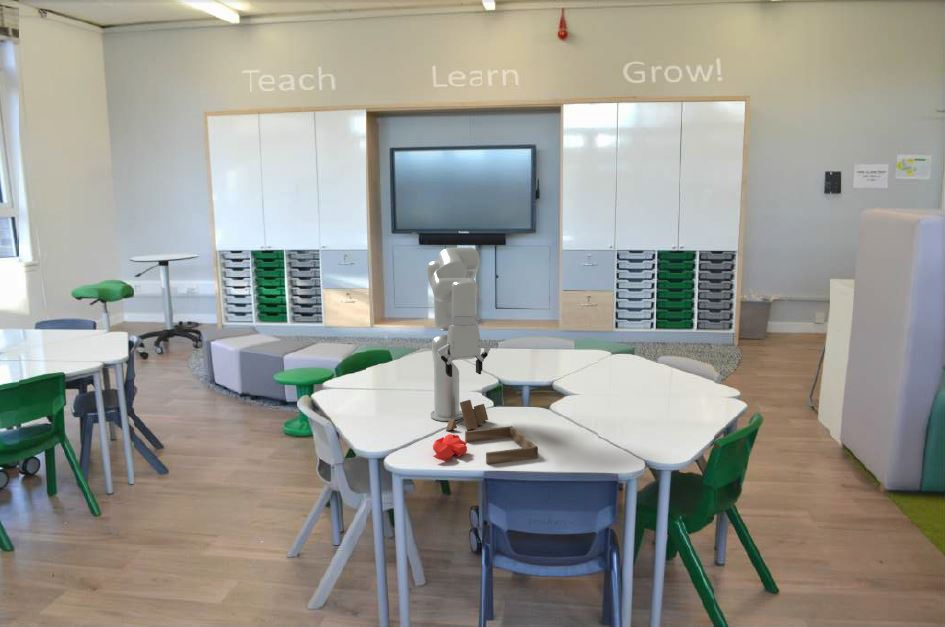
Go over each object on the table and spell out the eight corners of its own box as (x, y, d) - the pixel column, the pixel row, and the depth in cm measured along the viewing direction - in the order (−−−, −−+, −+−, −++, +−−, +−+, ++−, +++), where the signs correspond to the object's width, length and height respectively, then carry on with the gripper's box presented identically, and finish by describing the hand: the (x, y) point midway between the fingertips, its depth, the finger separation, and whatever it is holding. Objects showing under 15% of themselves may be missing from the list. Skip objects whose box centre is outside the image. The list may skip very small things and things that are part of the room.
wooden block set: (480, 426, 262) (473, 399, 264) (497, 421, 257) (489, 394, 258) (446, 436, 249) (439, 408, 251) (463, 431, 244) (455, 403, 245)
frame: (465, 441, 239) (465, 431, 238) (511, 435, 244) (511, 426, 244) (487, 464, 218) (487, 453, 218) (537, 457, 224) (537, 447, 223)
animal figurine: (428, 465, 219) (428, 449, 218) (435, 447, 234) (434, 433, 233) (465, 465, 218) (464, 450, 217) (469, 448, 233) (469, 433, 232)
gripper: (485, 317, 222) (485, 369, 225) (433, 320, 216) (434, 374, 219) (494, 321, 215) (494, 375, 218) (441, 324, 209) (441, 380, 212)
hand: (464, 374), depth 218 cm, fingers open, 9 cm apart
